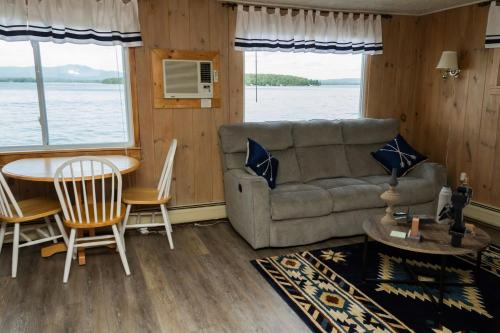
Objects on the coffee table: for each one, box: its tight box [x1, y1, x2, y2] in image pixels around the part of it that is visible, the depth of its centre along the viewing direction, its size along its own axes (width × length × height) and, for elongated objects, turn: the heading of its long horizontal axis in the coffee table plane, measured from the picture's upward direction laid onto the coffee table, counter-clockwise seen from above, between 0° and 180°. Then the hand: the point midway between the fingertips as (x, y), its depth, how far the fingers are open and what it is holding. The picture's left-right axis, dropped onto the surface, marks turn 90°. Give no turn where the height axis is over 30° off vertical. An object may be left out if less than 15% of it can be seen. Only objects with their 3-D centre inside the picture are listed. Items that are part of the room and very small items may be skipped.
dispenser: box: [406, 229, 421, 243], centre depth 245 cm, size 7×13×3 cm, turn 153°
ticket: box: [410, 218, 420, 237], centre depth 244 cm, size 4×6×12 cm, turn 153°
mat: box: [389, 230, 407, 240], centre depth 250 cm, size 9×10×1 cm
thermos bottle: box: [435, 184, 452, 226], centre depth 274 cm, size 8×8×28 cm
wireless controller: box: [405, 200, 435, 224], centre depth 278 cm, size 20×14×17 cm
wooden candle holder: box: [380, 167, 404, 227], centre depth 269 cm, size 15×15×40 cm
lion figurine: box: [465, 221, 479, 237], centre depth 256 cm, size 15×5×9 cm, turn 50°
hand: (438, 218), depth 247 cm, fingers open, 9 cm apart
